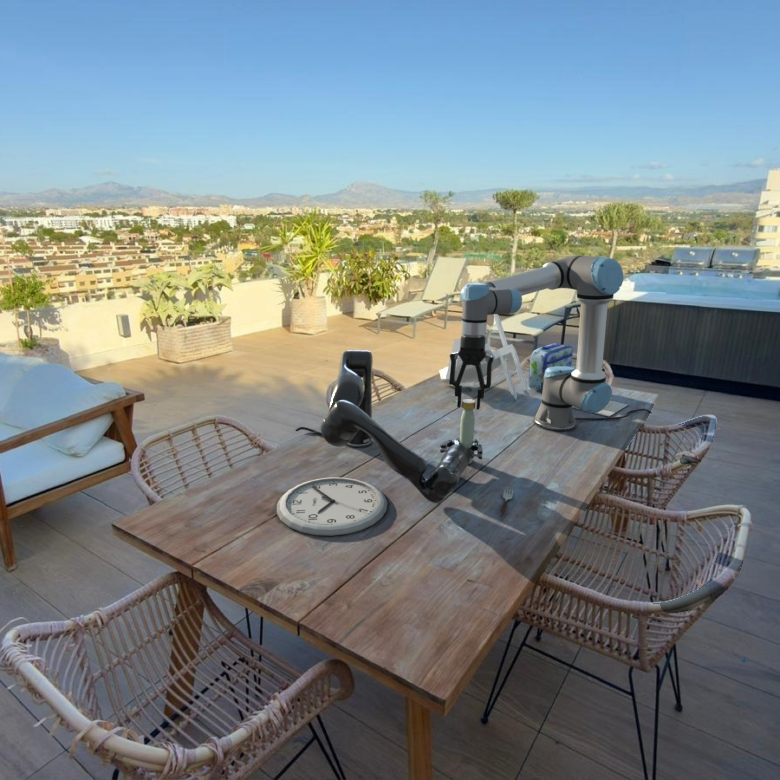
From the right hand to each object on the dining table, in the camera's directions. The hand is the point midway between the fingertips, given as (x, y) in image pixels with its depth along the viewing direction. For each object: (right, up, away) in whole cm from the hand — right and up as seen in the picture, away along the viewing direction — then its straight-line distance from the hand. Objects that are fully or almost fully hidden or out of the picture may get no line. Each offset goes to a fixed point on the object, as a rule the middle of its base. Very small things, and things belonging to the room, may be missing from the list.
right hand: (468, 407), depth 166 cm
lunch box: (+52, +6, +86) cm, 101 cm away
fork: (+7, -27, -21) cm, 35 cm away
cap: (0, +2, -1) cm, 2 cm away
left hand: (+1, -11, +6) cm, 13 cm away
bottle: (0, -18, +6) cm, 19 cm away
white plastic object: (+17, +4, +77) cm, 79 cm away
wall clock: (-41, -26, -23) cm, 54 cm away
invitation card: (+67, -2, +60) cm, 90 cm away
